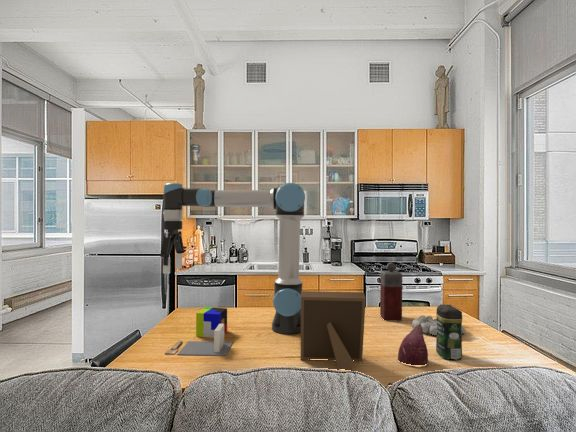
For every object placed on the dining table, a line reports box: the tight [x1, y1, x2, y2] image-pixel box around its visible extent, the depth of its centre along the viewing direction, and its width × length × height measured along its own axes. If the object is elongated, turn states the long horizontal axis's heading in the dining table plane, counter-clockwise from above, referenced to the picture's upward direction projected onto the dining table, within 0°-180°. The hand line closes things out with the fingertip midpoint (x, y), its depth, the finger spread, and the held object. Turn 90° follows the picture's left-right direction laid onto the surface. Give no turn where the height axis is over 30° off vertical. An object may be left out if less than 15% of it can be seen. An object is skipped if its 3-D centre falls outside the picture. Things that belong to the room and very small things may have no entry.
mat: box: [176, 340, 234, 357], centre depth 143 cm, size 18×14×1 cm
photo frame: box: [300, 290, 367, 370], centre depth 128 cm, size 15×22×25 cm
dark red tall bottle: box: [379, 262, 403, 321], centre depth 187 cm, size 9×11×28 cm
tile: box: [213, 324, 225, 352], centre depth 142 cm, size 2×9×8 cm, turn 179°
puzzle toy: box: [195, 306, 228, 339], centre depth 161 cm, size 10×10×10 cm
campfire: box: [411, 315, 467, 336], centre depth 166 cm, size 22×21×6 cm
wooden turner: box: [164, 340, 183, 356], centre depth 143 cm, size 4×12×1 cm, turn 179°
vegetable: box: [397, 324, 429, 365], centre depth 132 cm, size 10×10×15 cm
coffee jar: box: [435, 304, 463, 360], centre depth 137 cm, size 10×8×19 cm
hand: (172, 270), depth 155 cm, fingers open, 13 cm apart
